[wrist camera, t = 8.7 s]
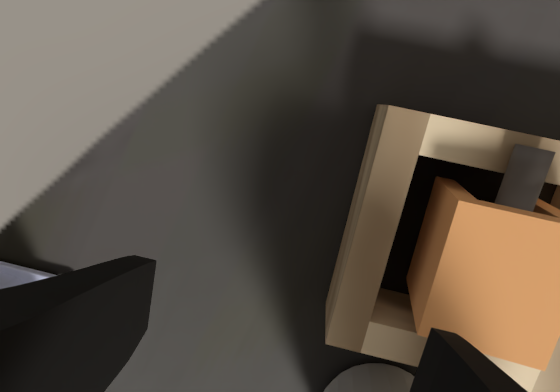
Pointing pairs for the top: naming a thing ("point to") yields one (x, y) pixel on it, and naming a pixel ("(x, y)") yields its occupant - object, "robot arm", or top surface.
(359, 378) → the coffee cup
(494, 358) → the shelf block
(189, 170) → the top surface
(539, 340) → the orange u-channel
